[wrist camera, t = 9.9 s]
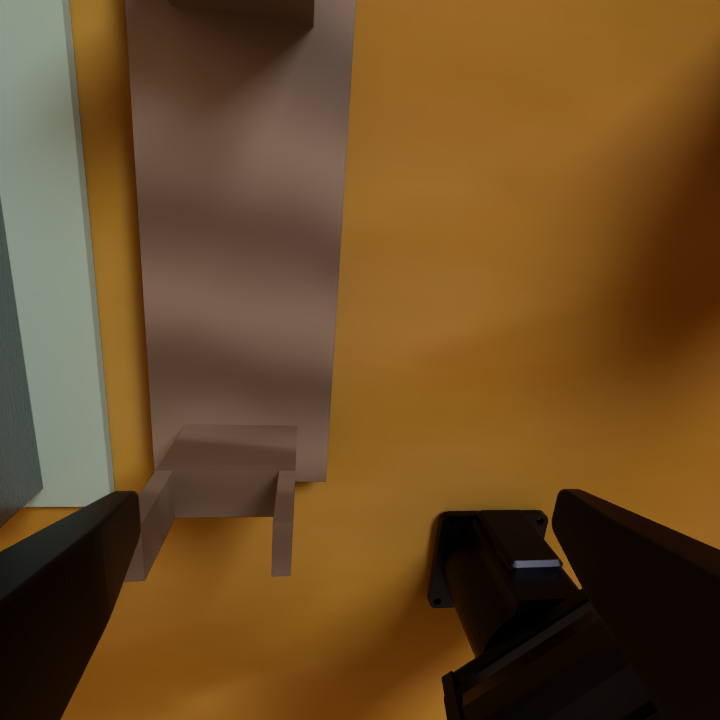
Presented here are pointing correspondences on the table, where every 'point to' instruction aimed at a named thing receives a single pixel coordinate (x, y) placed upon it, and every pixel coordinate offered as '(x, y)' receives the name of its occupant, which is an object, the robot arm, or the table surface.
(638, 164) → the table surface
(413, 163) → the table surface
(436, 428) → the table surface
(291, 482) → the hook stand
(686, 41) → the table surface
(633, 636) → the robot arm
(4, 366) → the hang rail
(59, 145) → the rubber mat
